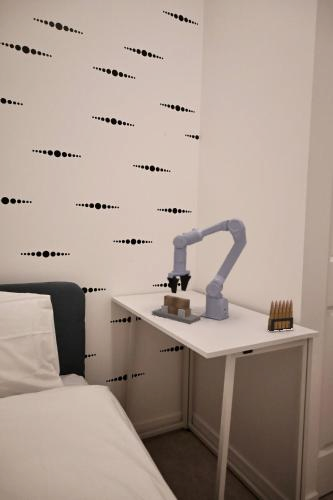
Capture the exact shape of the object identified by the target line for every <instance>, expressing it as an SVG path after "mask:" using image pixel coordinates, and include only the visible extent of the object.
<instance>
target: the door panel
mask: <svg viewBox="0 0 333 500" xmlns="http://www.w3.org/2000/svg"><path fill="white" fill-rule="evenodd" d="M190 304H191V299H188V298H183V297H180V296H175V295H170V294H166V295H163V305H164V306H168V313H171V314H175V315H178V309H182V310H185V317H188V316H189V313H190V308H191V305H190Z"/></svg>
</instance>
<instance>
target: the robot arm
mask: <svg viewBox="0 0 333 500" xmlns="http://www.w3.org/2000/svg"><path fill="white" fill-rule="evenodd" d="M221 231H222V232H229V233H230V235H231V236H232V239H233V242H234V243H233V245H232V246H231V248H230V250H229V252H228V254H227V255H226V257H225V258H224V261H223V263H222V264H221V265H220V267H219V269H218V271H217V273H216V274H215V276H214V277H213V279H212V280H211V281H210V283H207V284H206V287H205V292H206V294H205V311H204V312H205V313H203V314H201V317H206V318H209V319H214V320H219V321H221V320H224V319H226V318H228V317H229V300H228V299H227V298H225V297H224V295H223V294H222V291H223V289H224V283H225V282H226V279H228V277H229V274H230V273H231V271H232V270H233V268H234V266H235V264H236V263H237V261H238V259H239V258H240V255H241V254H242V252H243V250H244V249H245V247H246V246H247V232H246V231H247V230H246V226H245V224H244V222H243V220H241V219H239V218H238V217H237V218H236V217H235V218H231V219H226V220H223V221H219V222H216V223H214V224H213V225H212V224H211V225H210V226H207V227H205V228H203V229H200V228H192V229H191V230H190V231H188V232H182V234H181V235H180V234H178V235H176V236H175V237H174V238H173V240H172V244H173V247H174V249H173V250H174V251H173V269H172V270H171V271H170V272H168V273H167V277H166V279H167V282H168V284H169V286H170V291H171V293H172V294H177V291H178V285H179V281H180V290H181V291H182V292H186V291H187V289H188V286H189V282H190V280H191V279H192V275H191V270H187V257H188V256H187V253H188V252H187V247H188V246H191V245H194V244H196V243H200V242H202V241H203V239H204V238H205V237H207V236H210V235H213V234H215V233H219V232H221ZM177 277H178V278H177Z"/></svg>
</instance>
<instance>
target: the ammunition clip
mask: <svg viewBox="0 0 333 500" xmlns="http://www.w3.org/2000/svg"><path fill="white" fill-rule="evenodd" d="M293 304H294V303H293V300H292V299H290V301H289V300H288V299H287V300H286V302H285V300H284V299H283V301H281V300H279V302H278V300H275V302H274V300H272V301H271V303H270V308H269V309H270V310H269V318H268V321H267V323H268V324H267V331H268V330H269V331H274V330H283V329H291V328H293V329H294V313H293V312H294V309H293ZM269 331H268V332H269Z"/></svg>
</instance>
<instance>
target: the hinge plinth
mask: <svg viewBox="0 0 333 500" xmlns="http://www.w3.org/2000/svg"><path fill="white" fill-rule="evenodd" d="M160 306H161V308H158V309H156V310H152V311H151V312H152V313H151V315H153V316H157V317H160V318H164V319H168V320H172V321H177V322H180V323H185V324H188V325H191V324H194V323H196V322H199V321H201V320H202V319H201V318H202V316H200V315H196V314H192V307H190V313H189V316H188V317H185V310H182V309H178V315H175V314H171V313H168V306H164V304H163V305H160Z"/></svg>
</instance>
